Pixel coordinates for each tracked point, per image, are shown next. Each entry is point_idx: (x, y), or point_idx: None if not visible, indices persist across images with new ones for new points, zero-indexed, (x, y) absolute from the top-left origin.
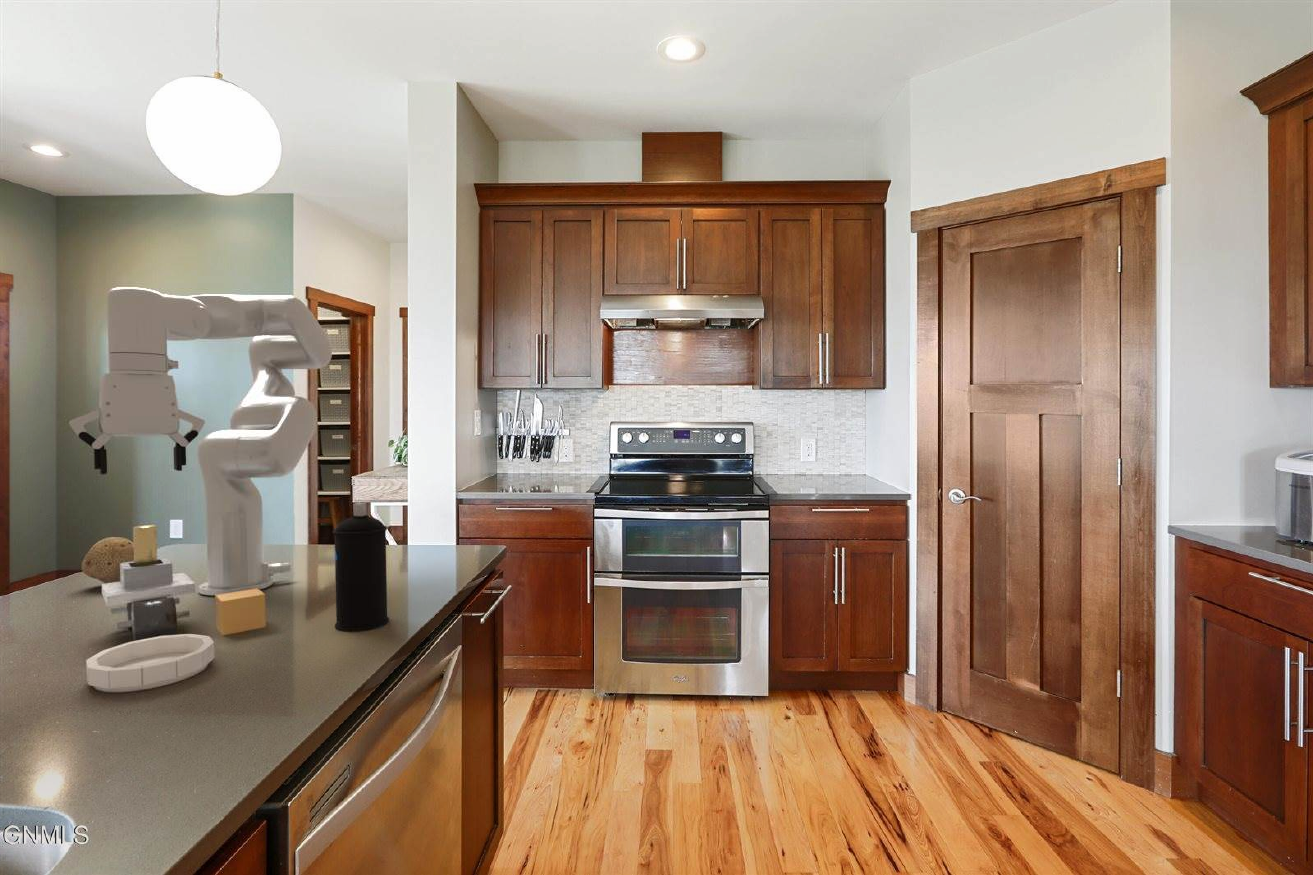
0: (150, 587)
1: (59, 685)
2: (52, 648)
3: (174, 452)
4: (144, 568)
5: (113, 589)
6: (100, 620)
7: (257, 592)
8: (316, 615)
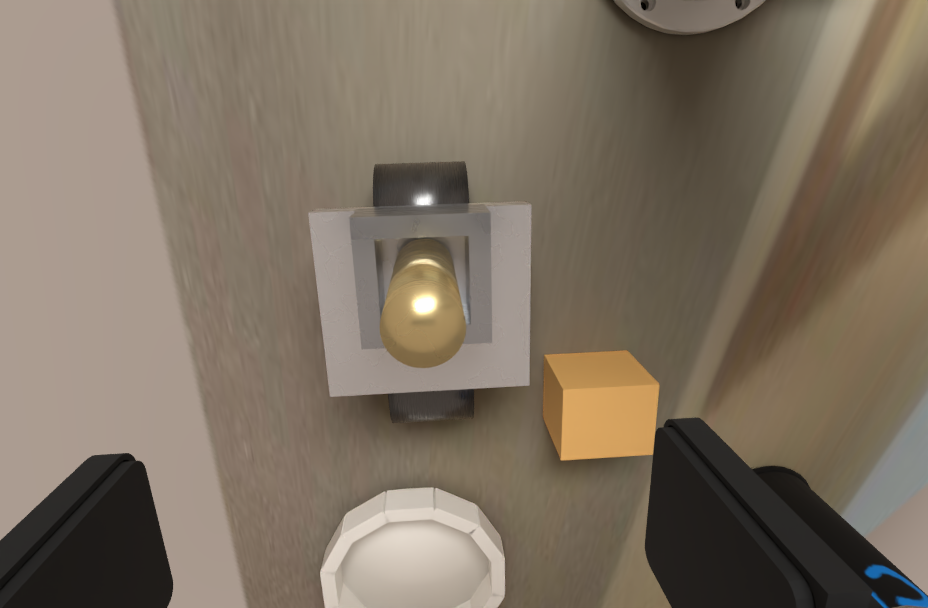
0: None
1: (290, 526)
2: (247, 285)
3: (743, 598)
4: None
5: (342, 321)
6: (322, 73)
7: (645, 427)
8: (728, 395)
